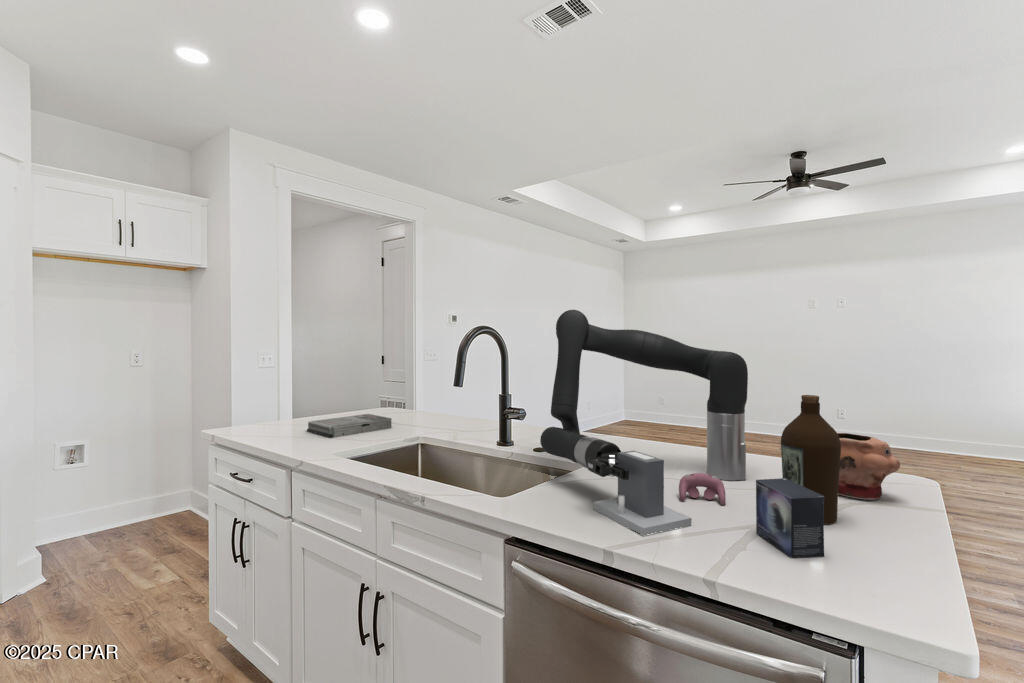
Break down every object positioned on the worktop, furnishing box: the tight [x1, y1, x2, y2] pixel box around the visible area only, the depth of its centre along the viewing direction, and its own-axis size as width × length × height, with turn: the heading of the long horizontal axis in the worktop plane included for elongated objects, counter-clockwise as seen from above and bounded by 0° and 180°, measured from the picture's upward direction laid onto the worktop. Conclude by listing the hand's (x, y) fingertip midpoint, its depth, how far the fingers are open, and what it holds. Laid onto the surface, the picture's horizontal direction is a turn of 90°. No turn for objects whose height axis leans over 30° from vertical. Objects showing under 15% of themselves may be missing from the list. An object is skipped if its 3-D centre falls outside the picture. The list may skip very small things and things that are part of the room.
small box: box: [755, 477, 825, 559], centre depth 87 cm, size 11×6×10 cm, turn 5°
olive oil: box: [780, 394, 841, 525], centre depth 101 cm, size 11×11×25 cm
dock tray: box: [593, 495, 692, 536], centre depth 100 cm, size 16×12×5 cm
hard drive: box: [306, 413, 392, 439], centre depth 195 cm, size 18×27×4 cm
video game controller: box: [678, 472, 727, 506], centre depth 111 cm, size 10×5×7 cm, turn 72°
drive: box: [617, 450, 665, 518], centre depth 101 cm, size 9×4×11 cm, turn 26°
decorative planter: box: [837, 432, 901, 501], centre depth 116 cm, size 20×12×14 cm, turn 48°
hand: (644, 472), depth 99 cm, fingers open, 8 cm apart
